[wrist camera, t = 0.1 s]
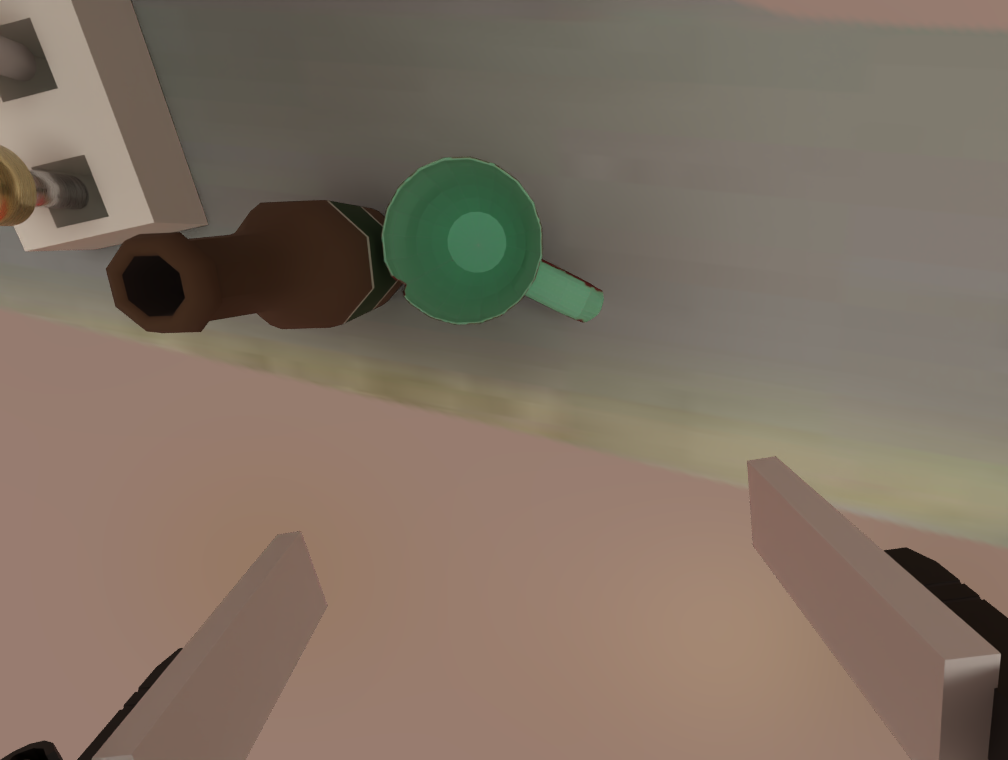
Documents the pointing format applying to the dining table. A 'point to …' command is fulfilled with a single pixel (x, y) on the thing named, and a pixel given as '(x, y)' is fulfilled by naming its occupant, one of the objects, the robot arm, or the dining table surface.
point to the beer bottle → (258, 270)
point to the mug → (474, 246)
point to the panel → (94, 125)
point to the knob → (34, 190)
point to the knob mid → (16, 60)
